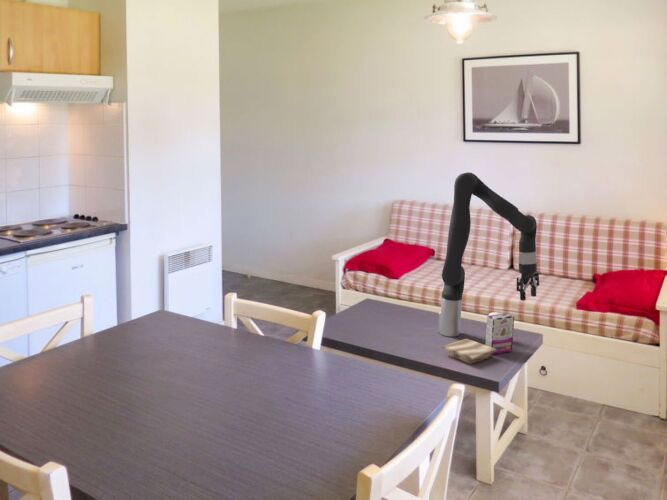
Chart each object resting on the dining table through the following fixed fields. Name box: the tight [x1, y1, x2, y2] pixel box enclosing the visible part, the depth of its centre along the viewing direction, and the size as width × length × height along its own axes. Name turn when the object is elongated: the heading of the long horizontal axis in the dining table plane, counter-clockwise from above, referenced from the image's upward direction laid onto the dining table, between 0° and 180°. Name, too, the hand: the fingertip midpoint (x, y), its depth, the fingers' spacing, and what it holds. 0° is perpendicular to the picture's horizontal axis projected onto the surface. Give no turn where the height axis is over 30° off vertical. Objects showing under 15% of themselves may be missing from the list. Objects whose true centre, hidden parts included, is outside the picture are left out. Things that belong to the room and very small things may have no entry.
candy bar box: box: [484, 312, 515, 356], centre depth 281 cm, size 11×5×16 cm, turn 114°
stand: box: [441, 338, 497, 365], centre depth 276 cm, size 16×16×4 cm
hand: (528, 298), depth 285 cm, fingers open, 8 cm apart
